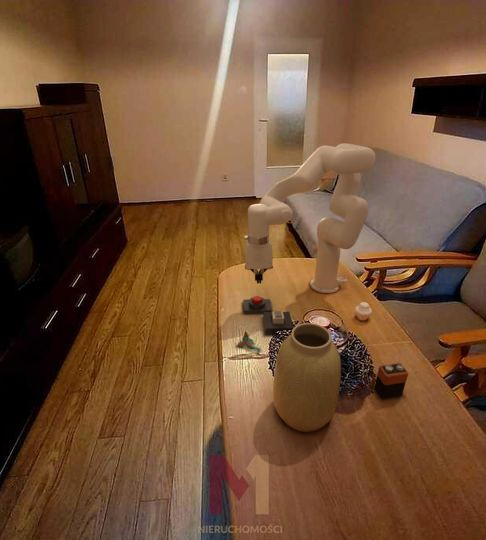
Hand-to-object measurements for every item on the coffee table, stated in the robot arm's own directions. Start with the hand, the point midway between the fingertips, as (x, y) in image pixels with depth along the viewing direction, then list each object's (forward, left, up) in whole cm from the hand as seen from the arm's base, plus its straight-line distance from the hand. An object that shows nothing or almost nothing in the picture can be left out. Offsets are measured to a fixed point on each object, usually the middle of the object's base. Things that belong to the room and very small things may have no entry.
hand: (258, 281), depth 135 cm
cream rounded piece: (-39, +8, -12) cm, 42 cm away
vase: (-9, +50, -12) cm, 53 cm away
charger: (-6, +12, -12) cm, 19 cm away
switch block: (+1, 0, -12) cm, 12 cm away
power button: (+1, 0, -9) cm, 9 cm away
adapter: (-6, +12, -12) cm, 19 cm away
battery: (-35, +44, -12) cm, 58 cm away
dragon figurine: (+5, +24, -12) cm, 27 cm away
